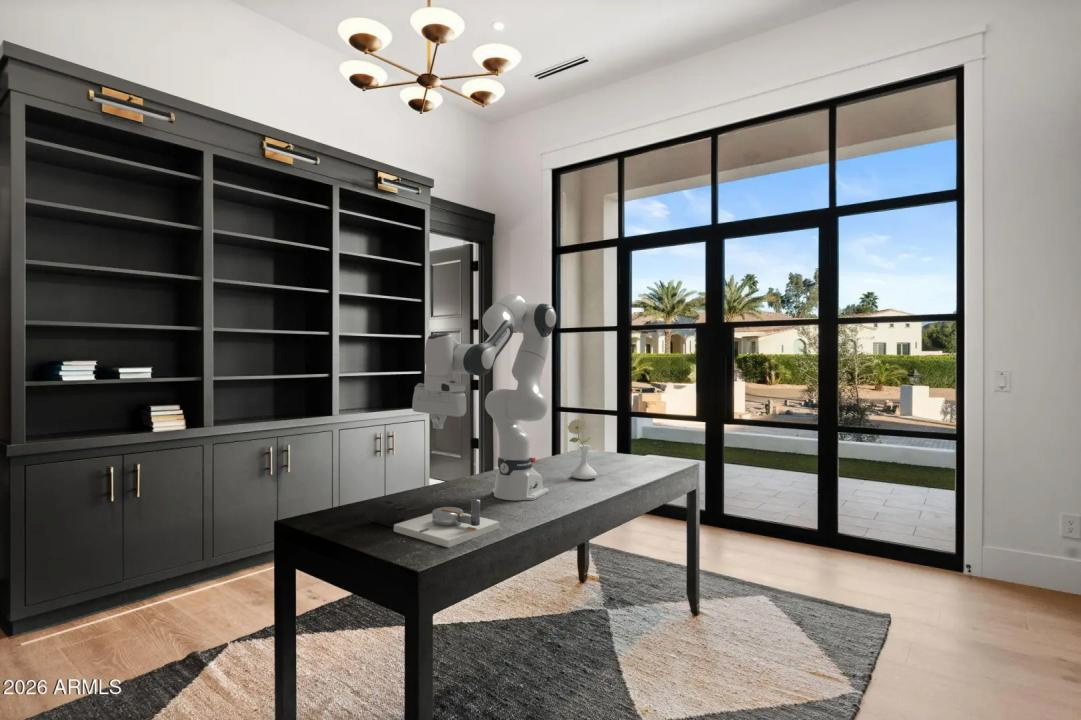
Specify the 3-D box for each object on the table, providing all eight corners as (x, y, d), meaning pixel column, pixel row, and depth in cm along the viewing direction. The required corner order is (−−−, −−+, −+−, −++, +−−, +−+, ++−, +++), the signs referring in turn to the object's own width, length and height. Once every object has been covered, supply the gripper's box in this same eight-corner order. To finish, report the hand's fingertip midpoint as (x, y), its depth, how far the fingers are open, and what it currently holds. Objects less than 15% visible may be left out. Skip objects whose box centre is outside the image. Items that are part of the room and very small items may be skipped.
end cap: (365, 524, 181) (366, 502, 181) (385, 519, 187) (385, 497, 186) (386, 531, 175) (387, 508, 175) (405, 525, 181) (406, 503, 180)
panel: (446, 514, 192) (446, 507, 192) (499, 528, 180) (499, 520, 180) (393, 531, 174) (393, 523, 174) (448, 547, 162) (448, 538, 162)
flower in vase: (597, 476, 255) (599, 418, 254) (596, 482, 244) (598, 421, 243) (567, 474, 257) (569, 416, 256) (564, 480, 246) (566, 420, 245)
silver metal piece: (425, 522, 175) (426, 495, 175) (444, 515, 183) (445, 489, 183) (469, 531, 168) (470, 504, 167) (487, 523, 176) (488, 497, 175)
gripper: (407, 383, 190) (407, 426, 190) (455, 387, 178) (455, 432, 179) (422, 382, 195) (421, 424, 196) (469, 385, 184) (469, 430, 184)
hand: (438, 428), depth 187 cm, fingers closed
